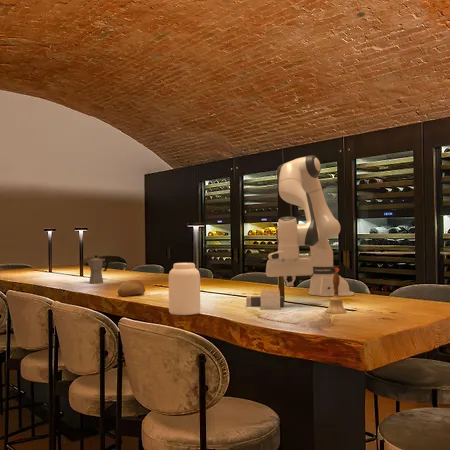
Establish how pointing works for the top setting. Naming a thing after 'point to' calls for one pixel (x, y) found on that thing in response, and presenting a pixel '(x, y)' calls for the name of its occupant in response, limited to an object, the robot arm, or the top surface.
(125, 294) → the bread roll
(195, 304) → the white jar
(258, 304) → the plug bar
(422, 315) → the top surface
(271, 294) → the block
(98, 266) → the coffeepot
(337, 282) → the hand bell
